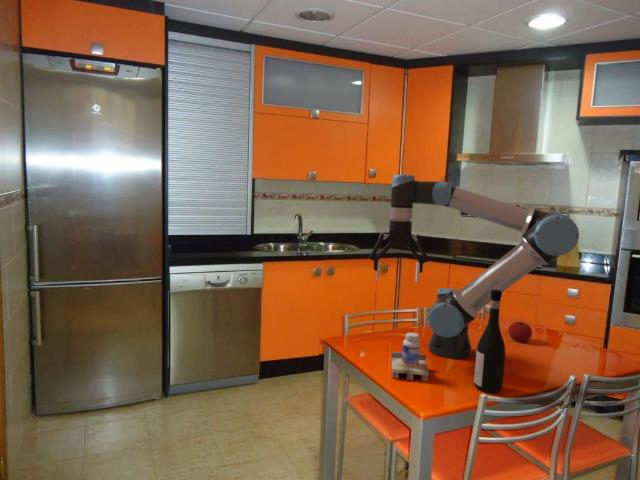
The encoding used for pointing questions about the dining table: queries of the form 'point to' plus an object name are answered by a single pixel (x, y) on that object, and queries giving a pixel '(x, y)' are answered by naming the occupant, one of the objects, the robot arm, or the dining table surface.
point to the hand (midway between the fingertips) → (397, 281)
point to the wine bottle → (491, 351)
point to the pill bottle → (411, 350)
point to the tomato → (520, 331)
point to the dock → (400, 368)
